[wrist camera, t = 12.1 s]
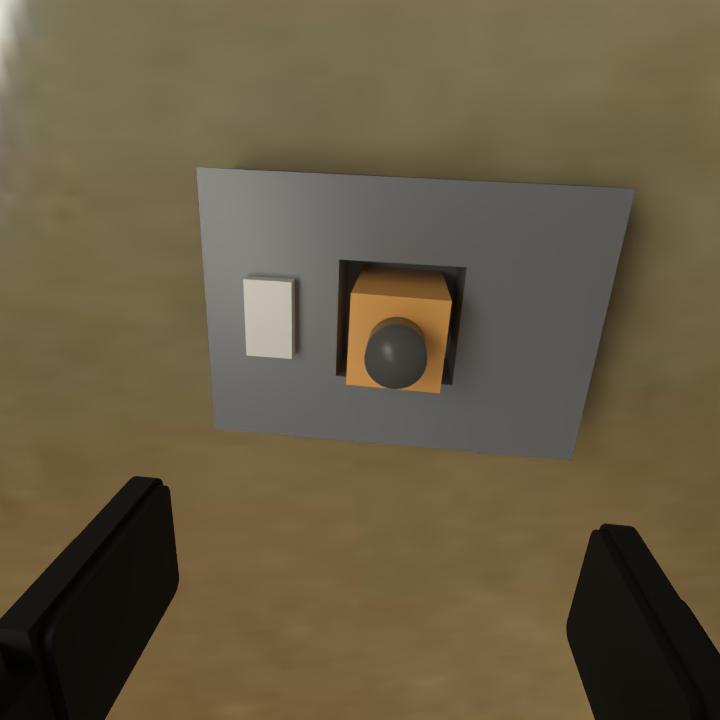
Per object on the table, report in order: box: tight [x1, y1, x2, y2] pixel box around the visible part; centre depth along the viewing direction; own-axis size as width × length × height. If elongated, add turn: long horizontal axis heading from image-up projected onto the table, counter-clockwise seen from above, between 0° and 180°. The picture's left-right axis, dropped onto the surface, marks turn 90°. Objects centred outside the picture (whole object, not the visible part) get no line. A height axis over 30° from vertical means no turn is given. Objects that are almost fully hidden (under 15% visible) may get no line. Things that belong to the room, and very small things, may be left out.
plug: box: [346, 265, 452, 393], centre depth 24 cm, size 4×4×9 cm
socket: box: [196, 167, 635, 460], centre depth 27 cm, size 20×14×6 cm
